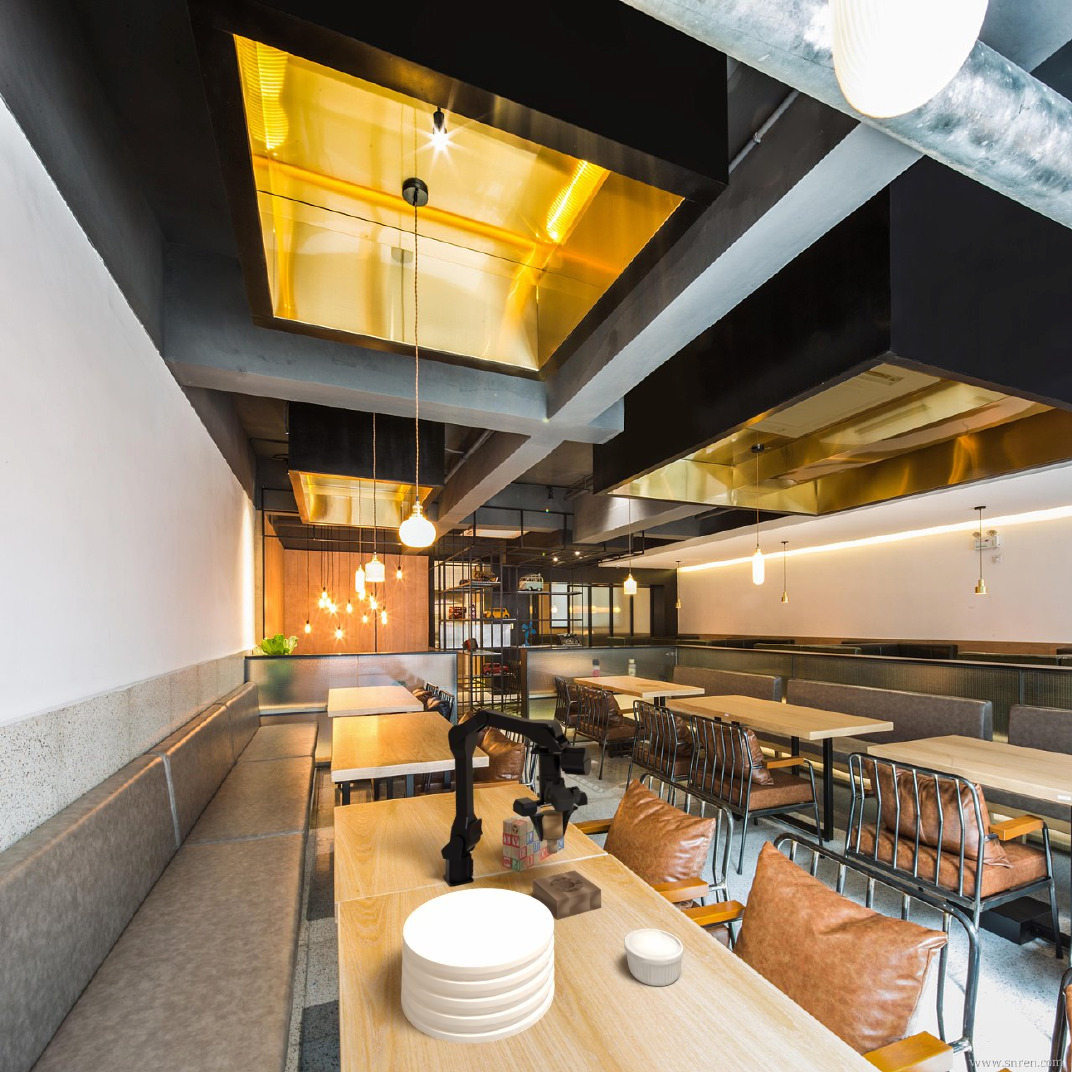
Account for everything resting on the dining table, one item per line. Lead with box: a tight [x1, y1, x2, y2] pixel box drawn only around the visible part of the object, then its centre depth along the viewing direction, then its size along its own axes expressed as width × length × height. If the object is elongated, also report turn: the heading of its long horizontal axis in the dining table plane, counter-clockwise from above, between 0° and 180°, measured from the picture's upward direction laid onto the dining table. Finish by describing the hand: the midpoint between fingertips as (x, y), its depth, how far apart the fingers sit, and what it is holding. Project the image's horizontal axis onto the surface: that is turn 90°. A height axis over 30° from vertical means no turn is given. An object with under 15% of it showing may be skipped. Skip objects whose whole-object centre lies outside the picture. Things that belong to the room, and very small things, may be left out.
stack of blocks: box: [502, 814, 565, 873], centre depth 167 cm, size 21×6×12 cm, turn 143°
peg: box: [541, 809, 563, 855], centre depth 143 cm, size 6×6×9 cm
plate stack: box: [400, 887, 555, 1045], centre depth 107 cm, size 28×28×12 cm
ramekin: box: [623, 927, 685, 987], centre depth 111 cm, size 11×11×5 cm
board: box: [532, 870, 602, 920], centre depth 139 cm, size 12×12×4 cm
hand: (551, 838), depth 143 cm, fingers closed on peg, 6 cm apart
